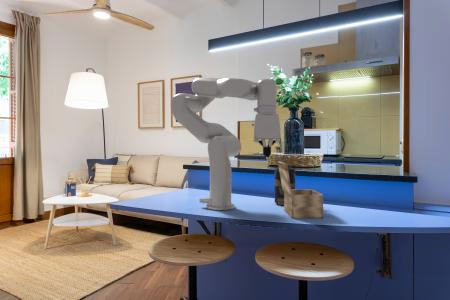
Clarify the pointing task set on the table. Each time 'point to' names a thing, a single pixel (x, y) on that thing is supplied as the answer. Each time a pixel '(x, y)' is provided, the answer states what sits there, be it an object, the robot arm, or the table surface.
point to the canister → (278, 186)
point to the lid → (284, 177)
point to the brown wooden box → (303, 203)
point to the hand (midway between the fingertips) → (267, 156)
